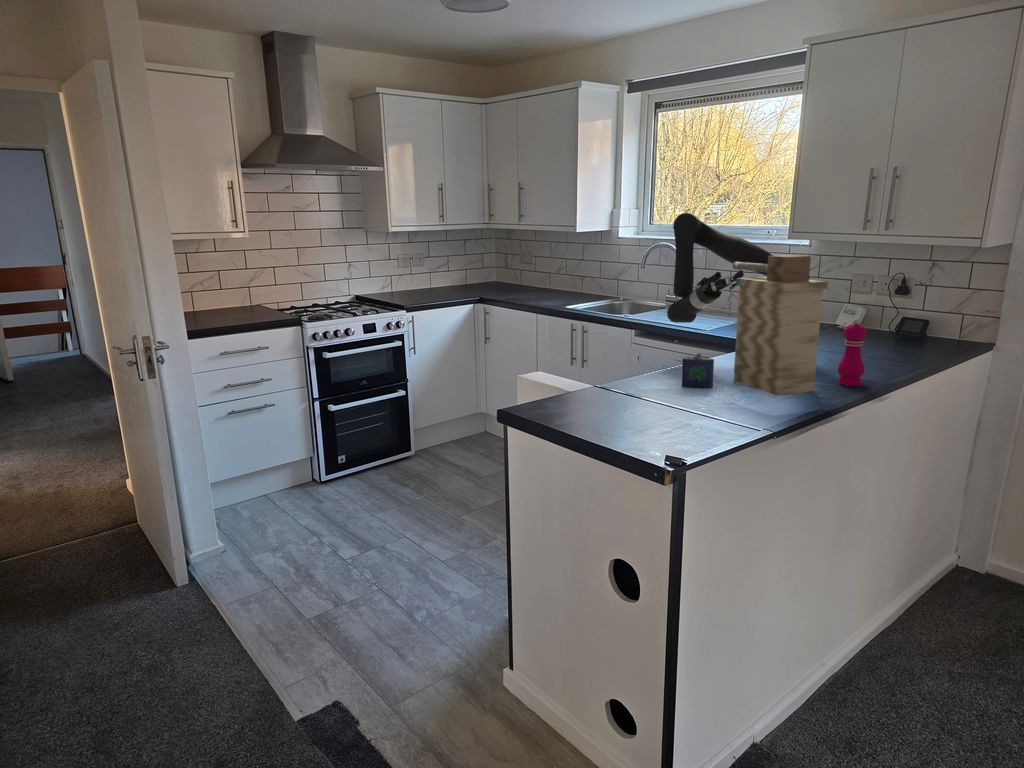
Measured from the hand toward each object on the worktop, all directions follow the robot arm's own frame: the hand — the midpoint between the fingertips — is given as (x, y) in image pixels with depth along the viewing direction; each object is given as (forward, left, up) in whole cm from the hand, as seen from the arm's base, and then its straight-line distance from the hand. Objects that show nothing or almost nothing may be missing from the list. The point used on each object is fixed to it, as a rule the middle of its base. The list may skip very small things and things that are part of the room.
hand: (731, 273), depth 213 cm
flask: (+26, +7, -33) cm, 42 cm away
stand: (+8, +22, -32) cm, 40 cm away
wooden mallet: (+6, +15, 0) cm, 16 cm away
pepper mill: (-10, +36, -33) cm, 50 cm away
